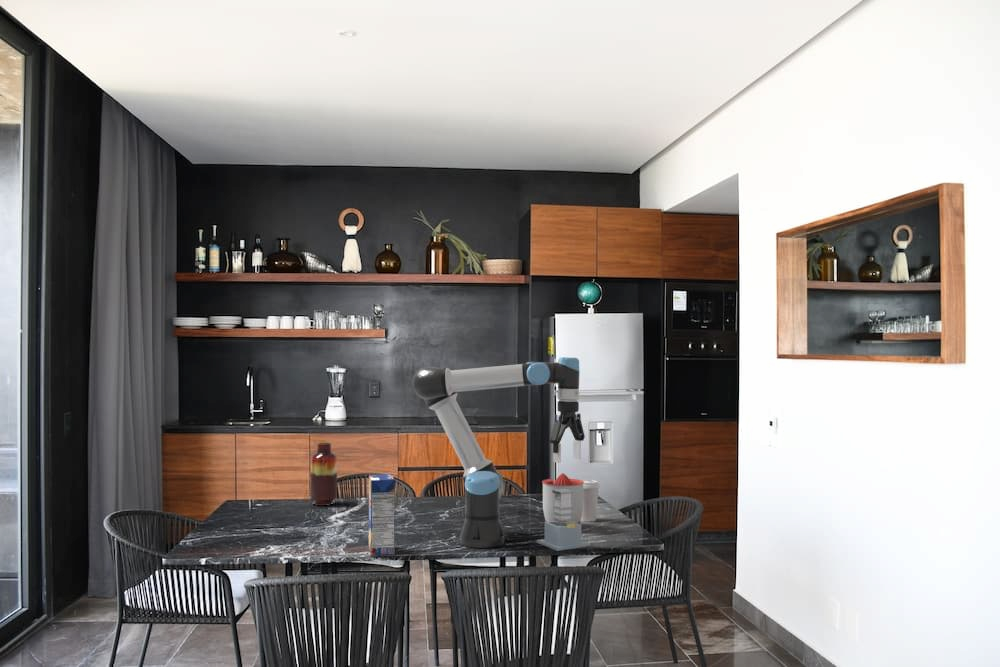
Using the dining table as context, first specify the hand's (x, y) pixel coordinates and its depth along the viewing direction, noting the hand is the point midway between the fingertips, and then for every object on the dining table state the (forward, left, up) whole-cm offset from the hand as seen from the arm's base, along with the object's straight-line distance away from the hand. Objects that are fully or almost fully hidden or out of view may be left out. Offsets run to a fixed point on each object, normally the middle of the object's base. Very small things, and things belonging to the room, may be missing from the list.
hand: (567, 460), depth 274 cm
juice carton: (-65, +11, -27) cm, 71 cm away
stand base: (-8, -10, -27) cm, 29 cm away
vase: (-59, +99, -27) cm, 119 cm away
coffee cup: (+22, +18, -27) cm, 39 cm away
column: (-8, -10, -27) cm, 29 cm away
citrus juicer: (+7, +13, -27) cm, 31 cm away
